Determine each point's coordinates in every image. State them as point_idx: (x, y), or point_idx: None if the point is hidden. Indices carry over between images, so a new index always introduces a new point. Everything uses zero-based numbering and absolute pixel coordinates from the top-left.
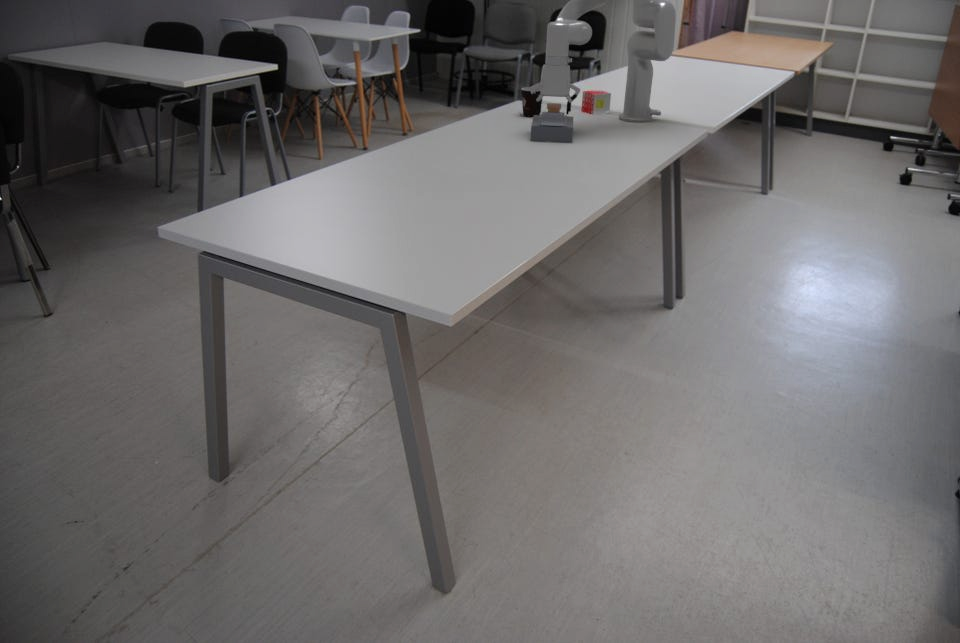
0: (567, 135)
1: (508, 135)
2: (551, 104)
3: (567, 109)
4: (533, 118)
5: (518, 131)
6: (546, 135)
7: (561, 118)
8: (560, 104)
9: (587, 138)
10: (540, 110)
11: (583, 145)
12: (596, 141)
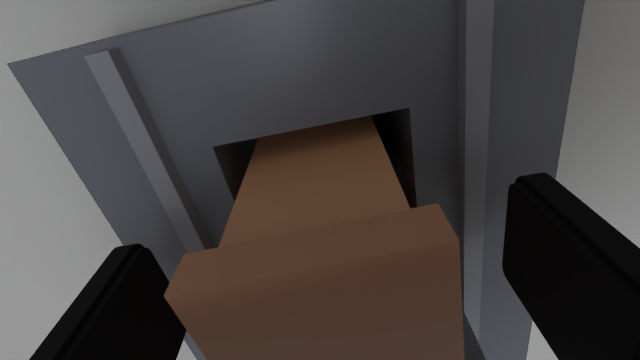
0: None
1: (79, 278)
2: (288, 357)
3: (546, 324)
4: (126, 242)
5: (58, 163)
6: None
7: None
8: (452, 311)
9: (591, 186)
10: (177, 347)
11: (535, 326)
12: (635, 237)
